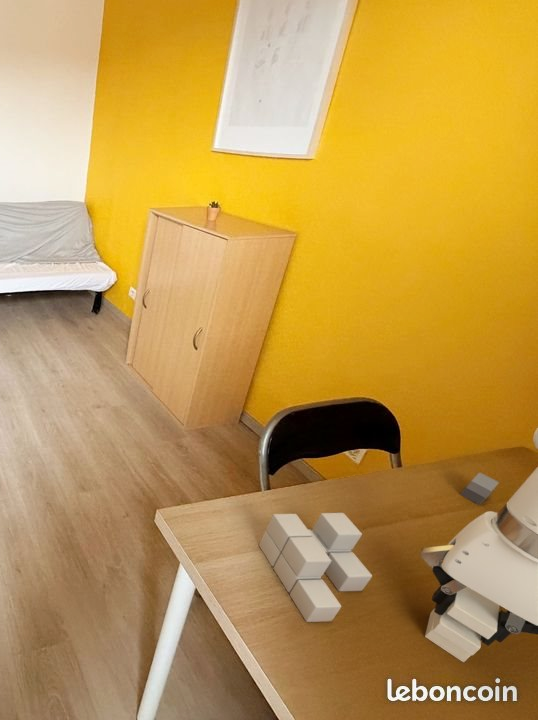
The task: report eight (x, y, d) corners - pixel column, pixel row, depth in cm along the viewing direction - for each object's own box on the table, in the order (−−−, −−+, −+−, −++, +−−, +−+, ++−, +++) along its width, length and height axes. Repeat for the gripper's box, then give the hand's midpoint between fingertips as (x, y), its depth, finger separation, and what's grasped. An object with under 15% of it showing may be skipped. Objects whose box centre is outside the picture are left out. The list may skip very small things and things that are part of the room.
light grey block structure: (306, 622, 60) (327, 590, 56) (257, 544, 71) (273, 513, 67) (384, 620, 61) (410, 588, 57) (325, 543, 71) (343, 512, 68)
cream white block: (451, 589, 59) (458, 581, 58) (491, 613, 56) (499, 604, 55) (446, 613, 56) (453, 605, 55) (488, 639, 53) (497, 631, 52)
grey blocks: (468, 486, 83) (479, 471, 81) (489, 497, 81) (501, 483, 79) (458, 494, 81) (469, 479, 80) (479, 506, 79) (491, 491, 77)
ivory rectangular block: (429, 612, 62) (443, 596, 60) (468, 636, 59) (484, 621, 57) (423, 637, 59) (437, 621, 57) (464, 664, 56) (480, 648, 54)
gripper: (660, 570, 45) (553, 656, 54) (451, 475, 56) (390, 558, 65) (672, 618, 41) (554, 703, 49) (443, 505, 52) (379, 590, 60)
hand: (462, 620), depth 57 cm, fingers closed on cream white block, 4 cm apart
